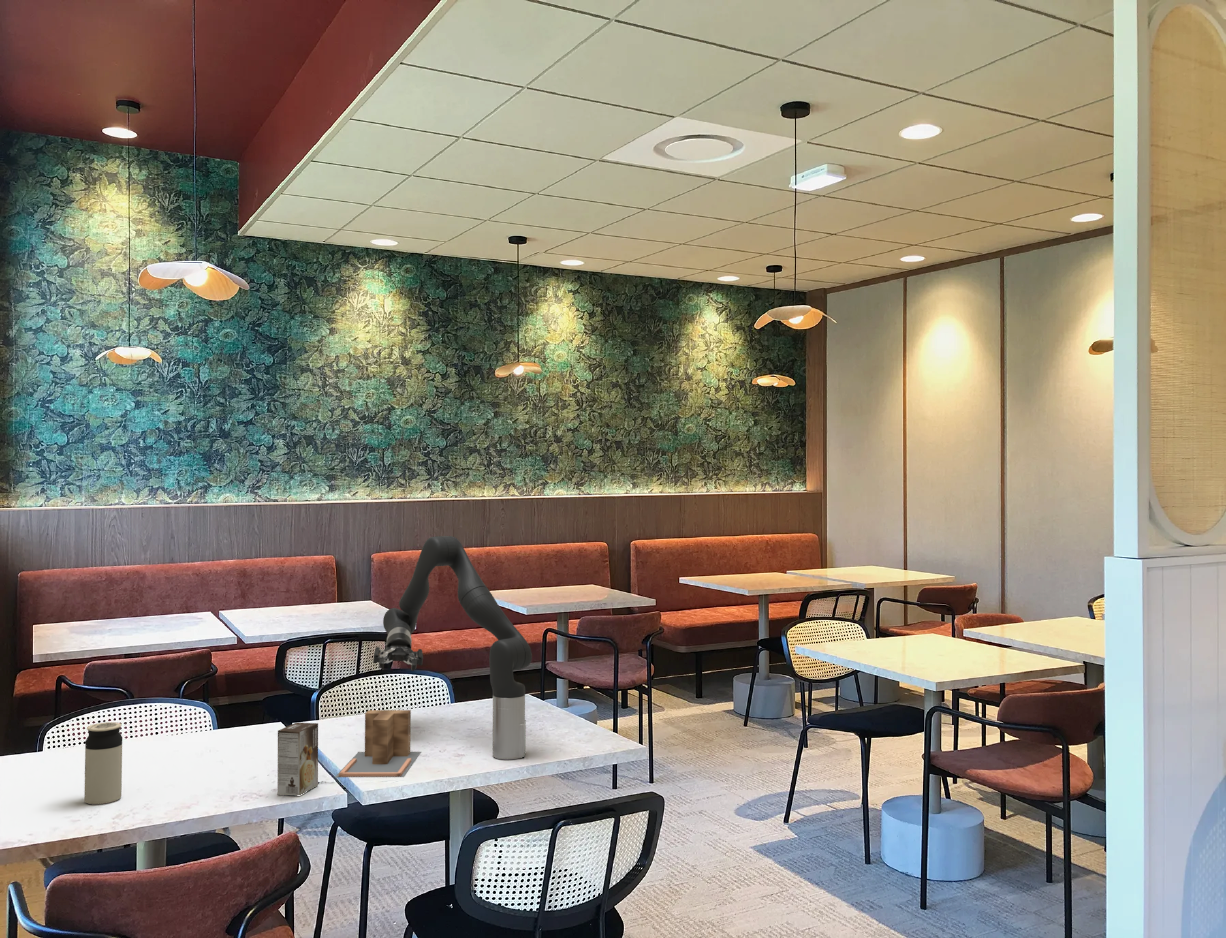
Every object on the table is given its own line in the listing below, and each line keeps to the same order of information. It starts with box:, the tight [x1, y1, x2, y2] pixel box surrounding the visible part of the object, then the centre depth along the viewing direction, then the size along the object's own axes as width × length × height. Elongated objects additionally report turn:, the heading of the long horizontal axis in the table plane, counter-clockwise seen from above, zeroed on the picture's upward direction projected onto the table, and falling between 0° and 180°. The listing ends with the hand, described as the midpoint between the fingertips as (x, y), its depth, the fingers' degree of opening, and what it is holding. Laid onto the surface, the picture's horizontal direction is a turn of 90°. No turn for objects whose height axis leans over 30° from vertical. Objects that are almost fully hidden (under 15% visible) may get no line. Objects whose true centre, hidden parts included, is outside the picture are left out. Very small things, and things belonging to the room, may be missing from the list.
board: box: [334, 751, 422, 778], centre depth 262 cm, size 18×25×2 cm
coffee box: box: [276, 722, 319, 796], centre depth 242 cm, size 9×6×16 cm
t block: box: [364, 709, 412, 764], centre depth 268 cm, size 12×12×12 cm
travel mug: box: [83, 721, 123, 806], centre depth 234 cm, size 8×8×18 cm
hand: (397, 667), depth 278 cm, fingers open, 8 cm apart
